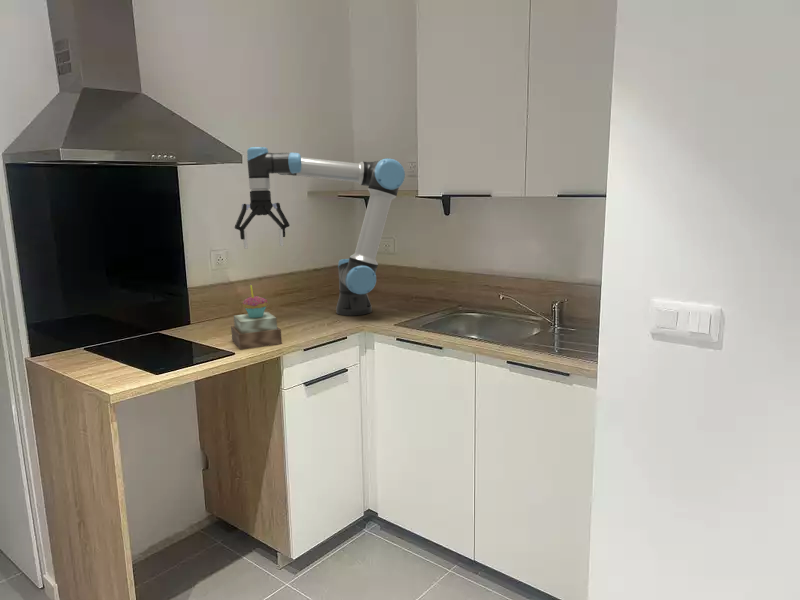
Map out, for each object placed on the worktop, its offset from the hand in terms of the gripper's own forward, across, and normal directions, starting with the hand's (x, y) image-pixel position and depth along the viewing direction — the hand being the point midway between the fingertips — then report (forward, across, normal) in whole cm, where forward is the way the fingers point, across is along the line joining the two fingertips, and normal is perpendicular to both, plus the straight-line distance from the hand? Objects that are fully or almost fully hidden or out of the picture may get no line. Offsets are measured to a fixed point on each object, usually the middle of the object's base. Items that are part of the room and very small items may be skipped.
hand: (263, 247), depth 218 cm
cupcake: (+22, +10, +22) cm, 32 cm away
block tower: (+31, +10, +22) cm, 39 cm away
